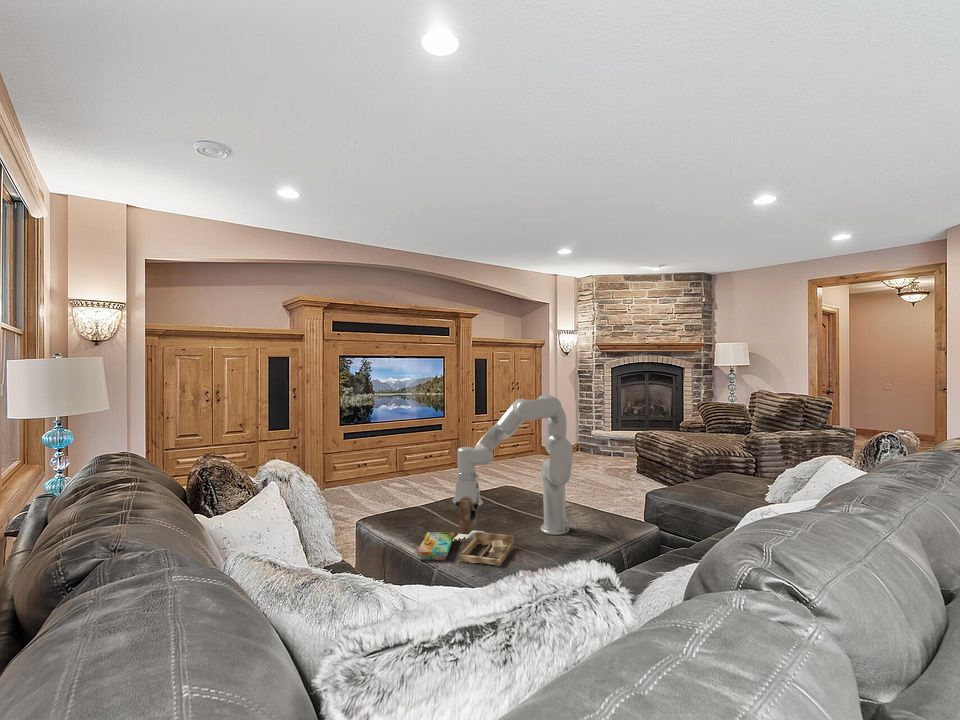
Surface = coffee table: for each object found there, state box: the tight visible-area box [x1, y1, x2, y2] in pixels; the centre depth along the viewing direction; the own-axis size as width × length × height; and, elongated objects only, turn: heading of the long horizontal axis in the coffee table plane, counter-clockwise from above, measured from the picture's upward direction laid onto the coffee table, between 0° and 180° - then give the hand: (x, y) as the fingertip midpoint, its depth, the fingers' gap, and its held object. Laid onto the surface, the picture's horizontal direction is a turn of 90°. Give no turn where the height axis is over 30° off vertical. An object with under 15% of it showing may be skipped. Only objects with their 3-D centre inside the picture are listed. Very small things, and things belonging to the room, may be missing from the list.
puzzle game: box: [416, 531, 456, 561], centre depth 208 cm, size 12×5×20 cm
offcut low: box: [488, 545, 507, 558], centre depth 202 cm, size 5×8×3 cm, turn 163°
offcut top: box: [491, 540, 504, 552], centre depth 202 cm, size 4×6×2 cm, turn 3°
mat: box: [453, 530, 484, 542], centre depth 221 cm, size 10×13×1 cm
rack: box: [459, 531, 515, 565], centre depth 203 cm, size 16×18×5 cm
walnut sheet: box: [458, 499, 477, 535], centre depth 221 cm, size 4×10×14 cm, turn 160°
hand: (467, 517), depth 221 cm, fingers closed on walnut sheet, 4 cm apart
